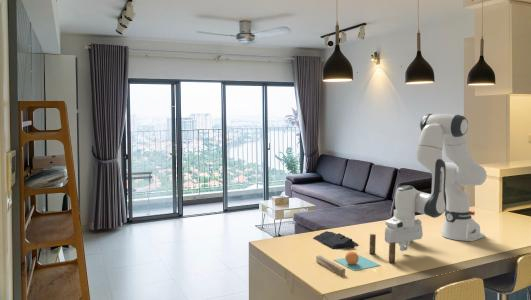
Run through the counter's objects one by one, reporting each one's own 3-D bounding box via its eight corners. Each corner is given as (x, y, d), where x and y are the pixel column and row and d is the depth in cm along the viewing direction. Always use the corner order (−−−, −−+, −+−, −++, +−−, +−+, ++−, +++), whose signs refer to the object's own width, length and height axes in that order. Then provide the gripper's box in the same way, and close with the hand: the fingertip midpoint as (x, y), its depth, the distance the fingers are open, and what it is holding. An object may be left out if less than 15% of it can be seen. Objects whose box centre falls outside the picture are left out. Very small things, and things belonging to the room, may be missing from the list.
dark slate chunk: (335, 235, 224) (335, 226, 224) (360, 247, 204) (360, 238, 204) (310, 239, 218) (310, 230, 217) (334, 251, 198) (334, 242, 198)
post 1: (372, 252, 195) (373, 233, 194) (376, 254, 193) (376, 235, 192) (368, 253, 194) (368, 234, 193) (371, 255, 192) (372, 235, 191)
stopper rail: (320, 260, 184) (320, 255, 184) (345, 275, 168) (345, 269, 168) (316, 261, 183) (316, 256, 183) (341, 275, 167) (341, 269, 167)
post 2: (391, 261, 184) (392, 241, 183) (396, 263, 181) (396, 242, 181) (387, 262, 183) (388, 241, 182) (391, 263, 180) (392, 243, 179)
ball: (346, 265, 182) (355, 256, 184) (354, 269, 177) (363, 260, 179) (340, 255, 180) (349, 247, 182) (348, 259, 175) (358, 250, 177)
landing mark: (359, 255, 191) (359, 255, 191) (380, 265, 178) (380, 265, 178) (334, 260, 185) (334, 259, 185) (354, 270, 172) (354, 270, 172)
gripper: (416, 217, 199) (415, 245, 201) (382, 221, 190) (382, 251, 192) (426, 220, 194) (425, 249, 195) (392, 225, 185) (391, 255, 186)
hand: (403, 250), depth 193 cm, fingers closed
